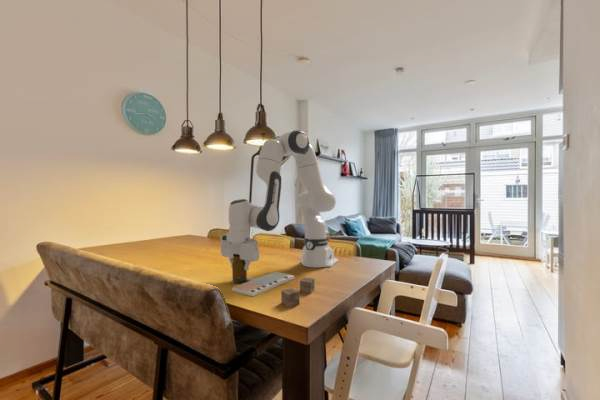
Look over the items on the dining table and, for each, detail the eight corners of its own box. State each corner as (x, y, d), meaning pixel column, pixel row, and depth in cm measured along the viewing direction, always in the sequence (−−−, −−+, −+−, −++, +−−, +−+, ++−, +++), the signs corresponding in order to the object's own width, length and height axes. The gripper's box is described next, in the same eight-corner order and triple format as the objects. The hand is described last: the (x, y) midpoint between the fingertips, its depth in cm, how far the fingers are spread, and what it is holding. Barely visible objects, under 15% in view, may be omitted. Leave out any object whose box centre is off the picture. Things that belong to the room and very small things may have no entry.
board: (275, 274, 133) (275, 271, 133) (294, 278, 127) (294, 275, 127) (232, 290, 111) (232, 287, 111) (252, 296, 105) (252, 292, 105)
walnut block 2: (303, 288, 114) (303, 277, 114) (314, 289, 112) (314, 278, 112) (300, 292, 109) (300, 280, 109) (311, 293, 108) (311, 281, 108)
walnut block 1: (292, 300, 101) (292, 288, 101) (299, 304, 98) (299, 291, 98) (281, 303, 99) (281, 290, 99) (288, 307, 95) (288, 294, 95)
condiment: (235, 278, 127) (235, 251, 127) (253, 278, 126) (253, 251, 126) (228, 283, 120) (228, 255, 120) (248, 284, 119) (247, 255, 118)
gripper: (262, 238, 120) (262, 270, 120) (229, 234, 131) (229, 264, 132) (251, 240, 114) (252, 274, 115) (218, 236, 126) (218, 267, 126)
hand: (239, 268), depth 123 cm, fingers closed on condiment, 6 cm apart
